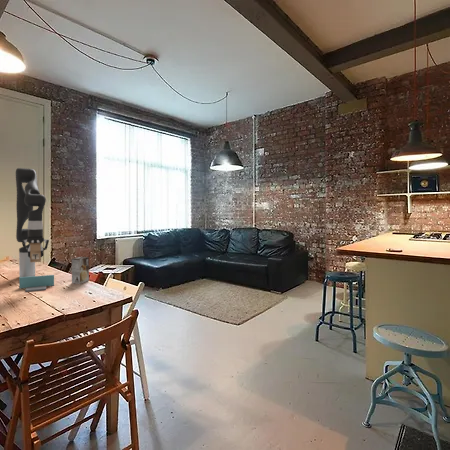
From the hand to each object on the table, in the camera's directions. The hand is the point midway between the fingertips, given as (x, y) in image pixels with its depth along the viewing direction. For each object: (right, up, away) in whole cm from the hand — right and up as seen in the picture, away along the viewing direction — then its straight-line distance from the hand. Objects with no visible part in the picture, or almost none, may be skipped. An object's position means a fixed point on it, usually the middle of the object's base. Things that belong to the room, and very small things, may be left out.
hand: (35, 257), depth 177 cm
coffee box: (+16, -19, +21) cm, 32 cm away
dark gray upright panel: (0, -19, +1) cm, 19 cm away
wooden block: (0, -2, 0) cm, 2 cm away
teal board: (-4, -19, +7) cm, 20 cm away
